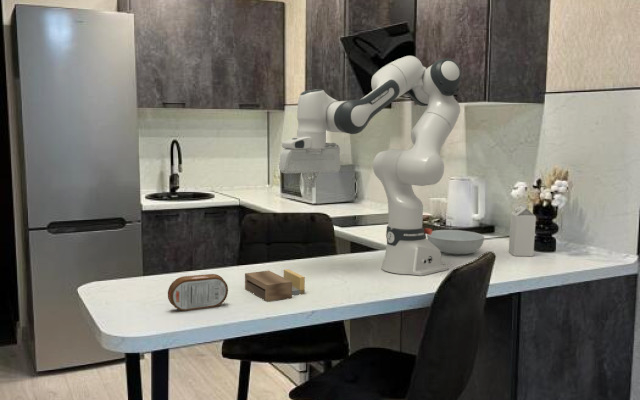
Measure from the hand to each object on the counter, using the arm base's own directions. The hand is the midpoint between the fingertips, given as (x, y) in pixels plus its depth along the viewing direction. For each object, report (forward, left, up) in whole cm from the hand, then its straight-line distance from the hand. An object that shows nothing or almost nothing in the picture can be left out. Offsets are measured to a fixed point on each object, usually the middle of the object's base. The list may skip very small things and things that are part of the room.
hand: (310, 187), depth 186 cm
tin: (+43, +19, -27) cm, 54 cm away
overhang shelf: (+22, +15, -27) cm, 38 cm away
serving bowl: (-65, -3, -27) cm, 71 cm away
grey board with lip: (+18, +15, -27) cm, 36 cm away
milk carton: (-85, +11, -27) cm, 90 cm away
